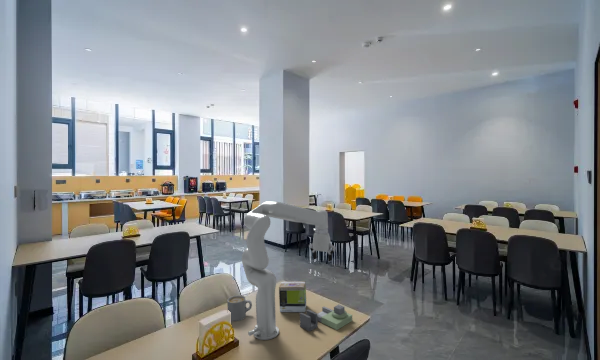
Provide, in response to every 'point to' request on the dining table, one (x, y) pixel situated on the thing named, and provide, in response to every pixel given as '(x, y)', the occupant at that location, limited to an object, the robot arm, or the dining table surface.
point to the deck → (335, 321)
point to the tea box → (292, 296)
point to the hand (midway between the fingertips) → (322, 260)
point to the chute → (308, 320)
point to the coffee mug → (238, 307)
